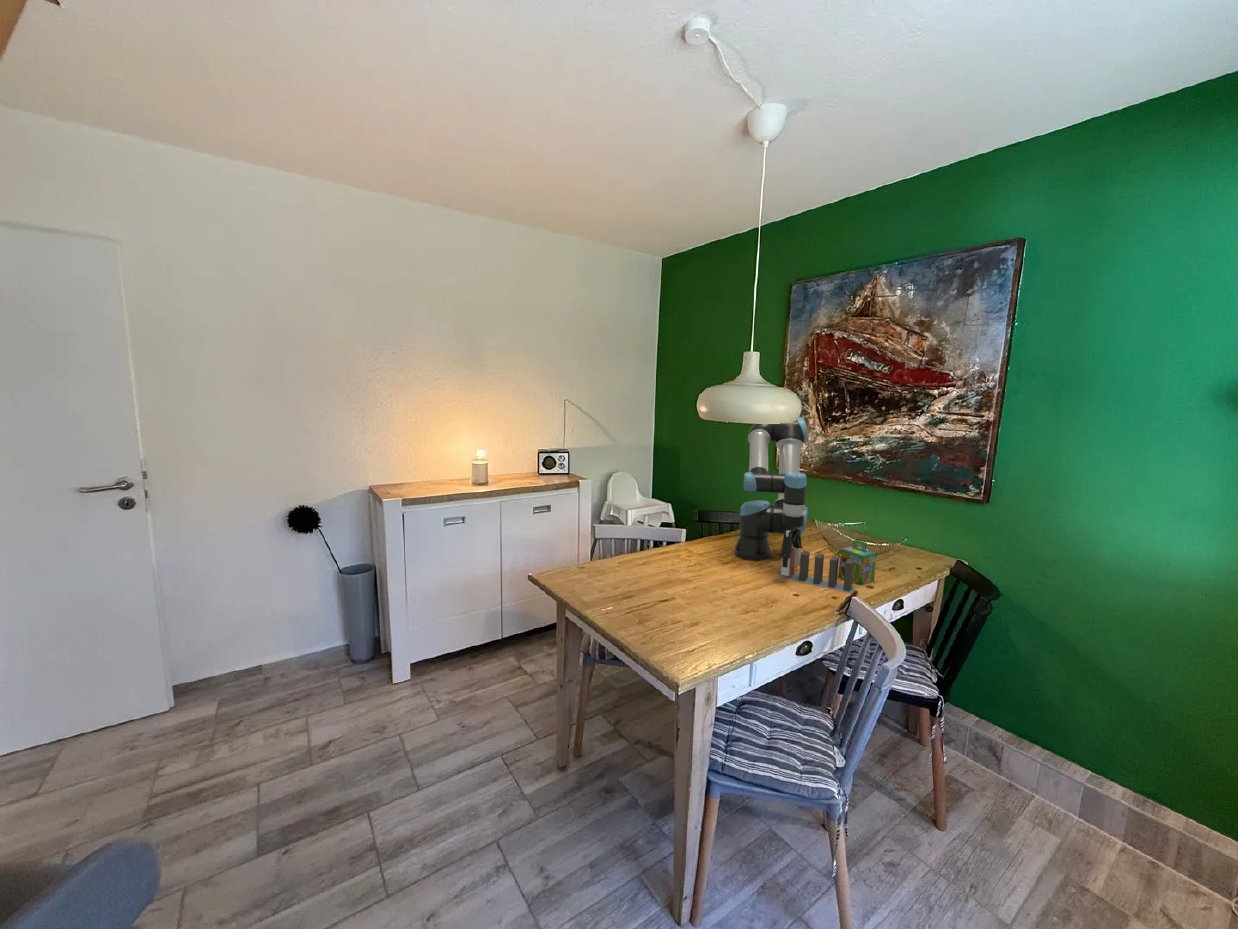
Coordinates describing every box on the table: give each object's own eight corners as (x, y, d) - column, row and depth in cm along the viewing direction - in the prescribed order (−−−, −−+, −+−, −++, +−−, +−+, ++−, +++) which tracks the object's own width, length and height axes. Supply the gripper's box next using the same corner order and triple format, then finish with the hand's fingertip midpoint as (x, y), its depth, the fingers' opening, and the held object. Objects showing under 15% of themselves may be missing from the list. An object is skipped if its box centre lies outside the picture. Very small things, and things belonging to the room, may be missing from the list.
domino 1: (784, 577, 177) (786, 551, 175) (788, 573, 181) (790, 548, 179) (790, 578, 175) (791, 552, 174) (793, 574, 180) (795, 549, 178)
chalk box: (837, 578, 177) (840, 540, 175) (851, 573, 182) (854, 536, 180) (861, 587, 169) (864, 547, 167) (875, 581, 174) (878, 543, 172)
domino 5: (843, 590, 165) (845, 562, 164) (845, 585, 169) (848, 558, 168) (849, 591, 164) (851, 563, 163) (852, 586, 168) (854, 559, 167)
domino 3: (813, 583, 171) (815, 556, 169) (816, 579, 175) (818, 553, 174) (819, 584, 170) (820, 558, 168) (822, 580, 174) (824, 554, 172)
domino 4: (828, 586, 168) (830, 559, 167) (830, 582, 172) (832, 555, 171) (834, 588, 167) (836, 560, 165) (836, 583, 171) (838, 557, 170)
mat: (775, 577, 177) (775, 576, 177) (782, 571, 184) (782, 570, 183) (851, 594, 162) (852, 593, 162) (855, 587, 169) (855, 586, 169)
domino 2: (798, 580, 174) (800, 554, 172) (802, 576, 178) (804, 550, 176) (804, 581, 173) (806, 555, 171) (808, 577, 177) (809, 551, 175)
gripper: (794, 523, 162) (791, 582, 165) (812, 509, 183) (808, 562, 186) (772, 519, 167) (769, 577, 170) (792, 506, 187) (789, 558, 190)
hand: (790, 569), depth 178 cm, fingers open, 13 cm apart
